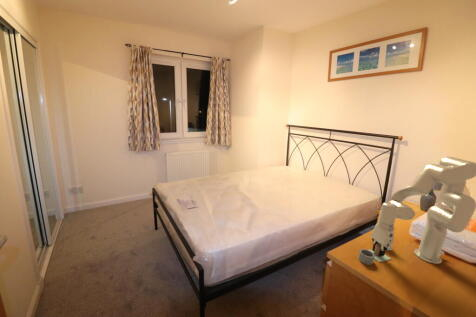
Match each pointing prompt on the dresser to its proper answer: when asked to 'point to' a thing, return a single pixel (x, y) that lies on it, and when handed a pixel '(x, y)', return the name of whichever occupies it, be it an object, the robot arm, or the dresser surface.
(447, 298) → the dresser surface
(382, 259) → the lid
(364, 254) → the cup
